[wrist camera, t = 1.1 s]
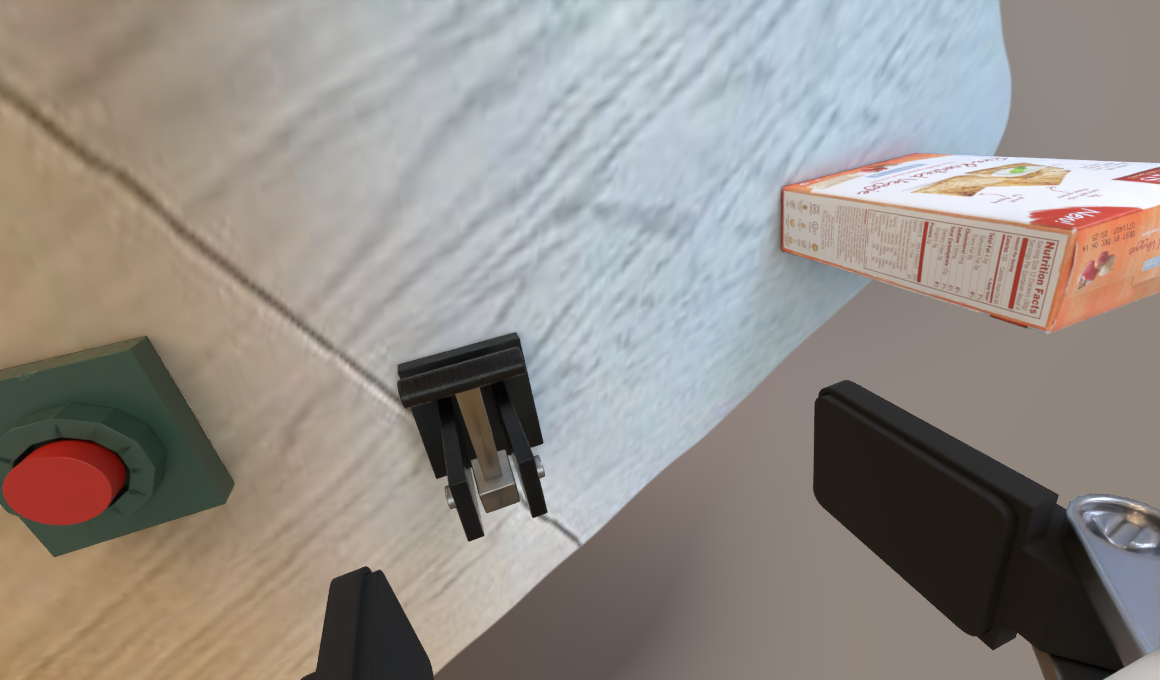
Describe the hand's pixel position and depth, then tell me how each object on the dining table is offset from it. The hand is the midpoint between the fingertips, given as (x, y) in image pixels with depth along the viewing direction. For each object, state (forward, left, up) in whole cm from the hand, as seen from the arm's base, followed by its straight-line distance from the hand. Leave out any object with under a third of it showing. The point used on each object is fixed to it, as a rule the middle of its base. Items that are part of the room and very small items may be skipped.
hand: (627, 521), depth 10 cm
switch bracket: (+10, -8, -28) cm, 31 cm away
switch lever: (+5, -6, -17) cm, 19 cm away
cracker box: (+20, +27, -28) cm, 43 cm away
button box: (-6, -25, -28) cm, 38 cm away
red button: (-6, -25, -25) cm, 36 cm away
